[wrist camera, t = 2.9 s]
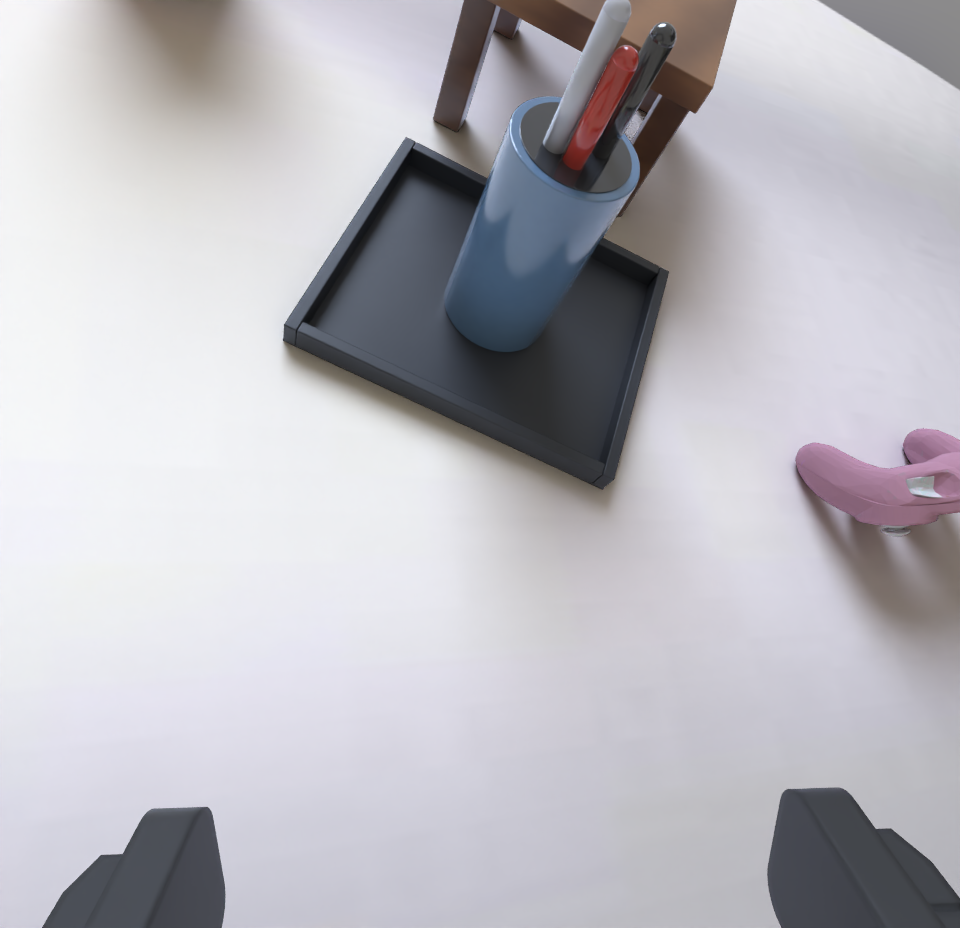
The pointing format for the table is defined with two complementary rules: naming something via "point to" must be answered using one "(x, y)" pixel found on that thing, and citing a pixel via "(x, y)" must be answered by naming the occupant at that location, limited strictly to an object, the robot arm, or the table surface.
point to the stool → (571, 17)
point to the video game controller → (889, 482)
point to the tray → (456, 360)
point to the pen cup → (554, 190)
